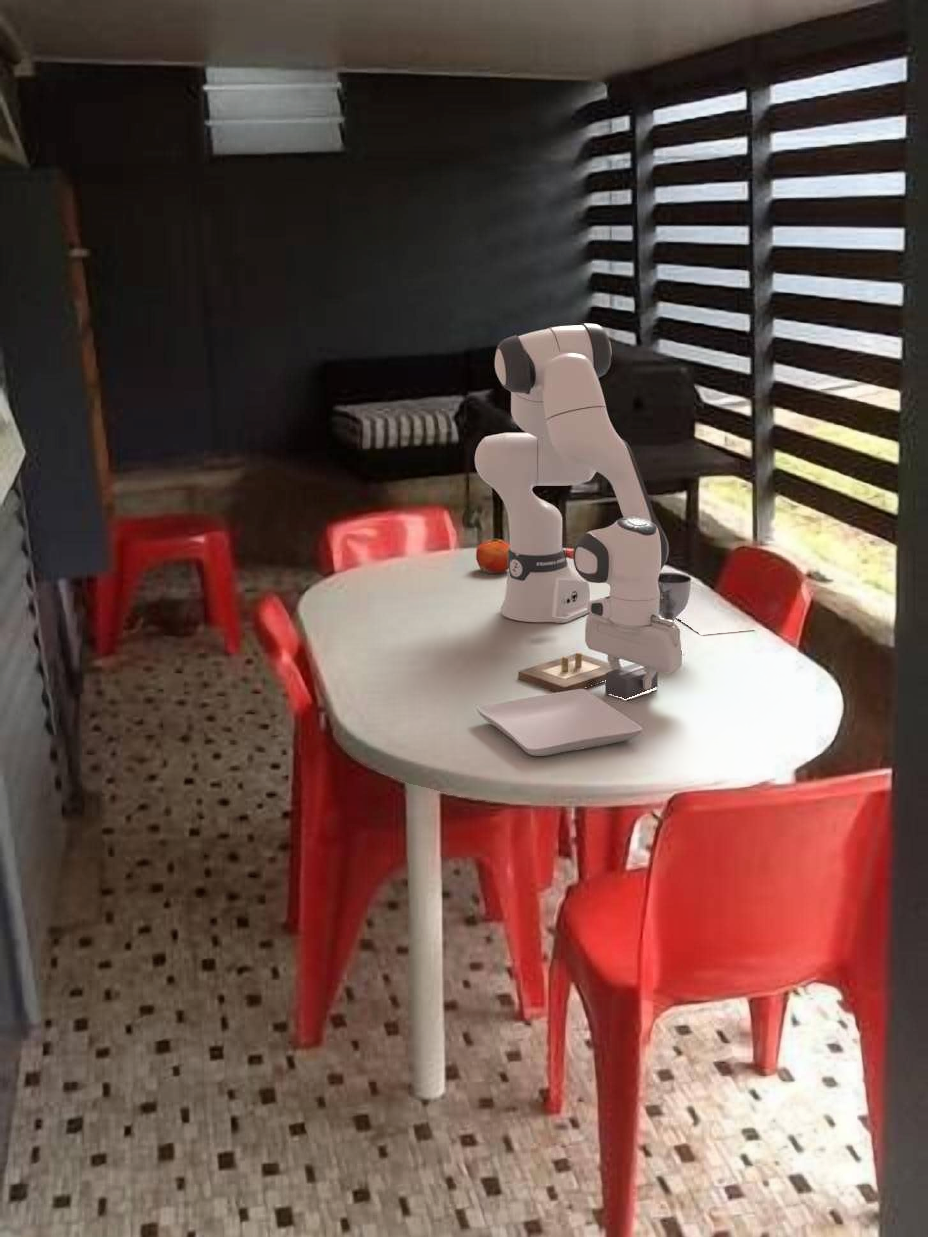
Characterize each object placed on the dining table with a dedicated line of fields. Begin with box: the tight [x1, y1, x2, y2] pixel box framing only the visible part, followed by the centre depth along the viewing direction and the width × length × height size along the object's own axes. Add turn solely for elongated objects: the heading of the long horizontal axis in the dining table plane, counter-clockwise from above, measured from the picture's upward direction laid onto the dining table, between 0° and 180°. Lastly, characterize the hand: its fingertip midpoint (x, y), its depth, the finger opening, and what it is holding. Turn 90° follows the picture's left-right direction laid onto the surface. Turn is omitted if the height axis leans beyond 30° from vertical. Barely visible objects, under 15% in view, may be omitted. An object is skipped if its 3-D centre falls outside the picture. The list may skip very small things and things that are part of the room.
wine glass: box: [658, 572, 692, 622], centre depth 267 cm, size 8×8×15 cm
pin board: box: [517, 652, 623, 693], centre depth 254 cm, size 16×12×4 cm
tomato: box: [475, 538, 510, 574], centre depth 327 cm, size 9×9×8 cm
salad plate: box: [476, 688, 643, 757], centre depth 227 cm, size 21×21×3 cm
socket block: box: [604, 663, 659, 699], centre depth 246 cm, size 8×5×4 cm, turn 132°
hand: (631, 683), depth 246 cm, fingers closed on socket block, 5 cm apart
